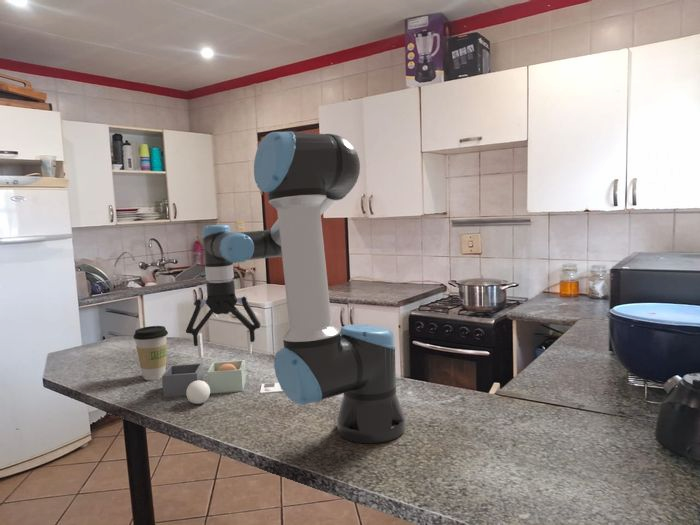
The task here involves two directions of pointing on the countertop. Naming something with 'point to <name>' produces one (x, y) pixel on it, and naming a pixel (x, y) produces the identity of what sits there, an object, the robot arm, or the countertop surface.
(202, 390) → the ball white
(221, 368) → the ball terracotta
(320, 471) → the countertop surface
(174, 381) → the grey open cubby box
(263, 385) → the card
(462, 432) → the countertop surface
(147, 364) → the coffee cup
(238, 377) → the sage open box
